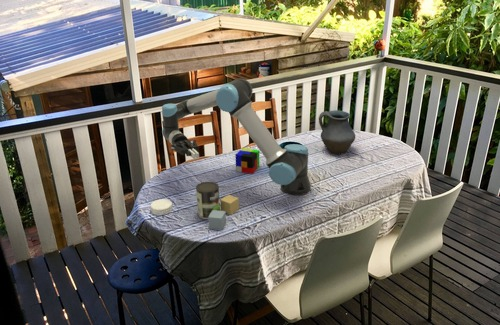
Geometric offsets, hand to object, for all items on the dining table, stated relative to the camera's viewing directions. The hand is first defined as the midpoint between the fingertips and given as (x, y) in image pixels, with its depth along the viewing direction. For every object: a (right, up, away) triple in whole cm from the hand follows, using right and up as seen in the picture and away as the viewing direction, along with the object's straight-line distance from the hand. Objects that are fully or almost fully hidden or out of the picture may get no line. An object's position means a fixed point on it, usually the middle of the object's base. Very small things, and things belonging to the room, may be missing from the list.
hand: (196, 156), depth 206 cm
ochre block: (+15, -25, +5) cm, 30 cm away
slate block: (+10, -31, -7) cm, 33 cm away
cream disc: (-17, -26, +6) cm, 31 cm away
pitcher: (+76, +4, +64) cm, 99 cm away
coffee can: (+6, -27, +2) cm, 27 cm away
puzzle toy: (+23, -7, +45) cm, 51 cm away
